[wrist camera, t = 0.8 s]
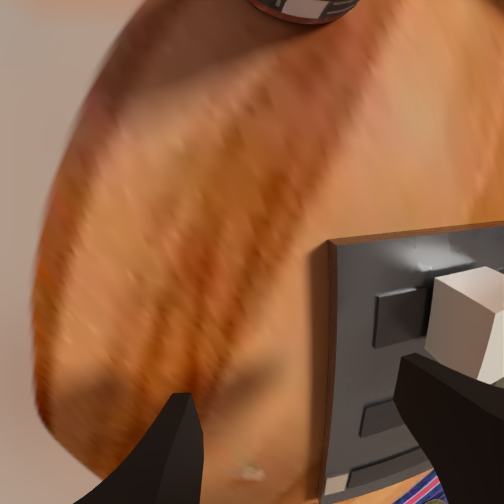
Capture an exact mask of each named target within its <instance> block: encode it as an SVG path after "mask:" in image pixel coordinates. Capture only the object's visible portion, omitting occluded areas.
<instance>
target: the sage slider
mask: <svg viewBox="0 0 504 504" xmlns="http://www.w3.org/2000/svg"><path fill="white" fill-rule="evenodd" d="M495 386H497V387H500V388H504V377H503V378H501V379H499V380H498V381H497V382H496V385H495Z"/></svg>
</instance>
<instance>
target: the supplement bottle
mask: <svg viewBox="0 0 504 504" xmlns="http://www.w3.org/2000/svg"><path fill="white" fill-rule="evenodd" d="M249 1H250V2H251V3H252V4H253V5H254V6H255V7H257V8H258V9H260V10H261V11H263V12H265V13H267V14H269V15H271V16H273V17H275V18H278V19H282V20H285V21H289V22H293V23H299V24H312V25H316V24H322V23H328V22H331V21H334V20H336V19H338V18H340V17H342V16H343V15H345V14H346V13H347V12H348V11H349V10H351V9H352V8H353V7H355V5H356V4H357V2H358V1H359V0H249Z"/></svg>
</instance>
